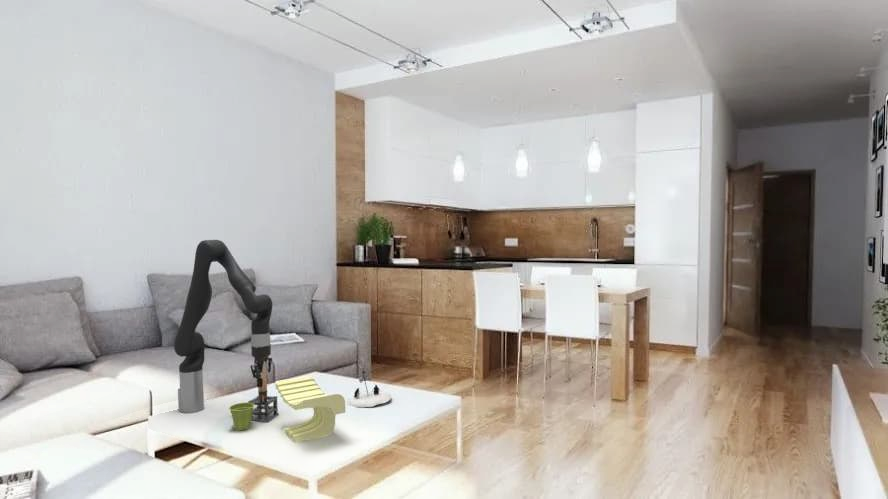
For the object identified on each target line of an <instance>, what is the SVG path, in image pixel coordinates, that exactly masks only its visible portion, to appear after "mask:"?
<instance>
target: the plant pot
mask: <svg viewBox="0 0 888 499" xmlns="http://www.w3.org/2000/svg"><path fill="white" fill-rule="evenodd" d="M254 408H255V405H254V404H253V403H248V402H238V403H234V404H231V405H230V406H229V407H228V410H229V411H230V414H231V417H232V423H233V428H234V430H235V431H238V430H239V431H241V430H242V431H246V430H248V429H251V427H252V422H251V420H252V411H253V409H254Z"/></svg>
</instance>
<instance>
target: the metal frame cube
mask: <svg viewBox="0 0 888 499" xmlns="http://www.w3.org/2000/svg"><path fill="white" fill-rule="evenodd" d="M247 403H253V404H254V406H256V407H253V411H252V420H251V421H255V423H267V424H268V423H270V422H271V421H272V420H274V419H275V418H277V417H278V416H279V412H278V396H275V395H274V396H269V395H267V401H266V402H259V396H258V395H257V396H256V397H254V398H253V399H251V400H249V401H247ZM270 404H273V405H270ZM263 410H264V411H263Z"/></svg>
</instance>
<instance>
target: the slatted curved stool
mask: <svg viewBox="0 0 888 499" xmlns="http://www.w3.org/2000/svg"><path fill="white" fill-rule="evenodd" d="M275 389H276V390H277V393H278V394H280V397H281V398H282V401H283V402H284V403H285V404H287V405H288V406H289V407H291V408H292V409H293V410H295V411H297V410H303V409H310V408H312V409H313V416H312V417H311V418H310V419H309V420H306V421H304V422H302V423H299V424H296V425H292V426H288V427H284V430H283V433H284V434H285V435H286V436H288V437H289V438H290V439H291V440H292V441H294V443H301V441H302V442H305V441H309V440H313V439H317V438H322V437H326V436H330V435H331V434H332V433H333V432H334V430H335V427H336V416H337V415H340V414H341V415H342V414H345V413H346V399H345V398H344V396H343V395H342V394H340V393H335V394H329V395H328V394H326V393H325V392H324V391H322V389H321V387H320V386H319V385H318V382H316V380H315V379H314V378H312V376H310V375H304V376H299V377H292V378H287V379H282V380H281V379H280V380H276V381H275Z"/></svg>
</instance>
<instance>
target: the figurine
mask: <svg viewBox="0 0 888 499" xmlns="http://www.w3.org/2000/svg"><path fill="white" fill-rule="evenodd" d="M358 368H359V372H361V373H362V374H361V375H359V374H356V373H354V375H355V377H357V378H358V380H359V383H363V382H364V384H365V389H366V391H361V392H360V387H358V388H356V390H355V391H354V395H352V396H351V397H350V398H348V399H347V402H346V404H347V406H351V407H356V408H366V407H367V408H370V407H375V406H377V405H380V404H385V403H387V402H389V401H390V400H391V399H392V395H391V393H389V392H387V391H381V390H380V388H379V387H378V385H377V384H374V387H373V388H372V390H368V387H367V382H366V381H368V380H369V379H370V378H371V374H370V372H368V373H367V372H366V370H365V367H363V366H359V367H358ZM366 377H367V378H366Z"/></svg>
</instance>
